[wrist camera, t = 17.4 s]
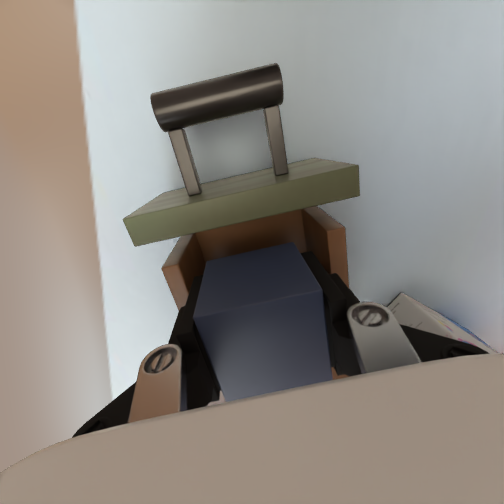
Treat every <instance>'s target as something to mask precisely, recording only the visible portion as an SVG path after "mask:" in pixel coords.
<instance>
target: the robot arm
mask: <svg viewBox="0 0 504 504" xmlns="http://www.w3.org/2000/svg"><path fill="white" fill-rule="evenodd" d="M300 254H301V255H302V257H303V259H304V260H305V262H306V264H307V265H308V267H309V268H310V270H311V272H312V273H313V275H314V277H315V278H316V280H317V282H318V283H319V285H320V287H321V288H322V291H323V300H324V309H325V318H326V327H327V335H328V344H329V352H330V361H331V367H334V369H335V371H336V373H337V376H339V375H344V374H345V375H347V376H349V377H346V378H341V379H336V380H331V381H326V382H321V383H316V384H311V385H306V386H301V387H297V388H292V389H287V390H282V391H277V392H272V393H268V394H263V395H258V396H253V397H248V398H244V399H239V400H234V401H229V402H224V403H220V404H215V405H210V406H207V405H208V404H209V403H210V402H215V401H219V399H220V391H221V388H220V385H219V383H218V380H217V378H216V375H215V372H214V370H213V367H212V365H211V362H210V360H209V357H208V354H207V352H206V349H205V347H204V344H203V342H202V339H201V336H200V334H199V331H198V329H197V326H196V324H195V321H194V319H193V316H194V312H195V308H196V303H197V299H198V295H199V291H200V287H201V283H202V279H203V275H200V276H195V277H194V279H193V282H192V285H191V288H190V292H189V295H188V298H187V301H186V304H185V306H183V307H181V308H180V310H179V313H178V316H177V319H176V322H175V325H174V328H173V331H172V334H171V337H170V340H169V343H168V344H166V345H162V346H160V347H158V348H156V349H154V350H153V351H151V352H150V353H149V354H148V355H147V356H146V357H145V358H144V359H143V361H142V362H141V365H140V368H139V372H138V377H137V382H135V383H134V384H133V385H132V386H130V387H129V388H128V389H127V390H125V391H124V392H123V393H122V394H121V395H119V396H118V397H117V398H116V399H114V400H113V401H112V402H111V403H110V404H108V405H107V406H106V407H105V408H103V409H102V410H101V411H100V412H98V413H97V414H96V415H95V416H94V417H92V418H91V419H90V420H89V421H87V422H86V423H85V424H84V425H83V426H82V427H81V428H80V429H79V430H78V431H77V432H76V433H75V434H74V435H73V437H72V438H71V439H68V440H65V441H62V442H59V443H56V444H54V445H51V446H49V447H47V448H44V449H42V450H40V451H38V452H35V453H34V454H32V455H30V456H28V457H26V458H24V459H23V460H21V461H19V462H17V463H15V464H14V465H12V466H10V467H8V468H7V469H5V470H4V471H2V472H1V473H0V504H504V354H490V353H488V352H487V351H485V350H483V349H481V348H479V347H477V346H474V345H472V344H469V343H465V342H462V341H458V340H455V339H451V338H448V337H444V336H441V335H437V334H434V333H430V332H426V331H423V330H419V329H416V328H412V327H409V326H405V325H402V324H399V323H398V321H397V320H396V318H395V316H394V315H393V313H392V312H391V311H390V310H389V309H388V308H387V307H385V306H384V305H381V304H378V303H373V302H361V303H360V302H359V300H358V299H357V298H356V297H355V295H354V294H353V293H352V292H351V290H350V289H349V288H348V287H347V285H346V284H345V283H344V281H343V280H342V279H341V278H340V276H339V275H338V274H337V273H333V274H328V273H327V271H326V270H325V268H324V267H323V266H322V264H321V263H320V262H319V260H318V259H317V257H316V256H315V255H314V253H313V252H312V251H308V252H303V253H300Z"/></svg>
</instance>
